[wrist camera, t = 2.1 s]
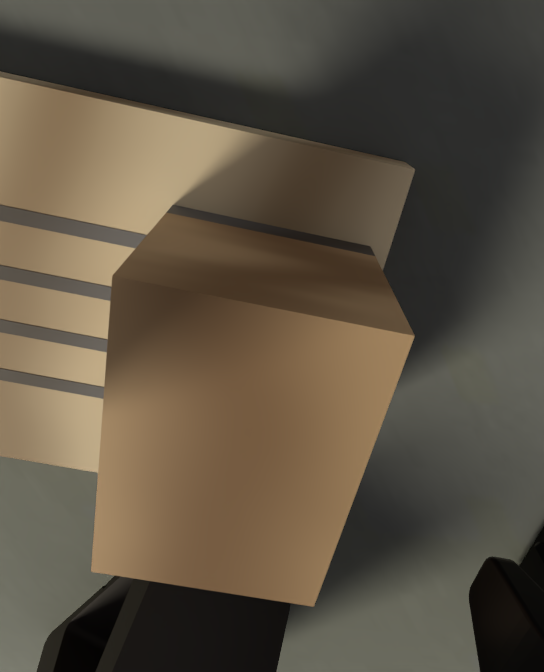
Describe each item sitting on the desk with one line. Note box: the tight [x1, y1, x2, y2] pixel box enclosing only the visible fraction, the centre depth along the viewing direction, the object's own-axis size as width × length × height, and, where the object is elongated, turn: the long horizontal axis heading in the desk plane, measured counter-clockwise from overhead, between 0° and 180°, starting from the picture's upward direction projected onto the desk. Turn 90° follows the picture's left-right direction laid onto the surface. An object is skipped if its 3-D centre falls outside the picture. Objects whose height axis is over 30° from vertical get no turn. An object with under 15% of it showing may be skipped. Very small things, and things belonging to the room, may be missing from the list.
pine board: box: [0, 71, 415, 473], centre depth 15 cm, size 18×11×1 cm, turn 78°
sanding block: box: [91, 205, 415, 607], centre depth 12 cm, size 5×7×5 cm
